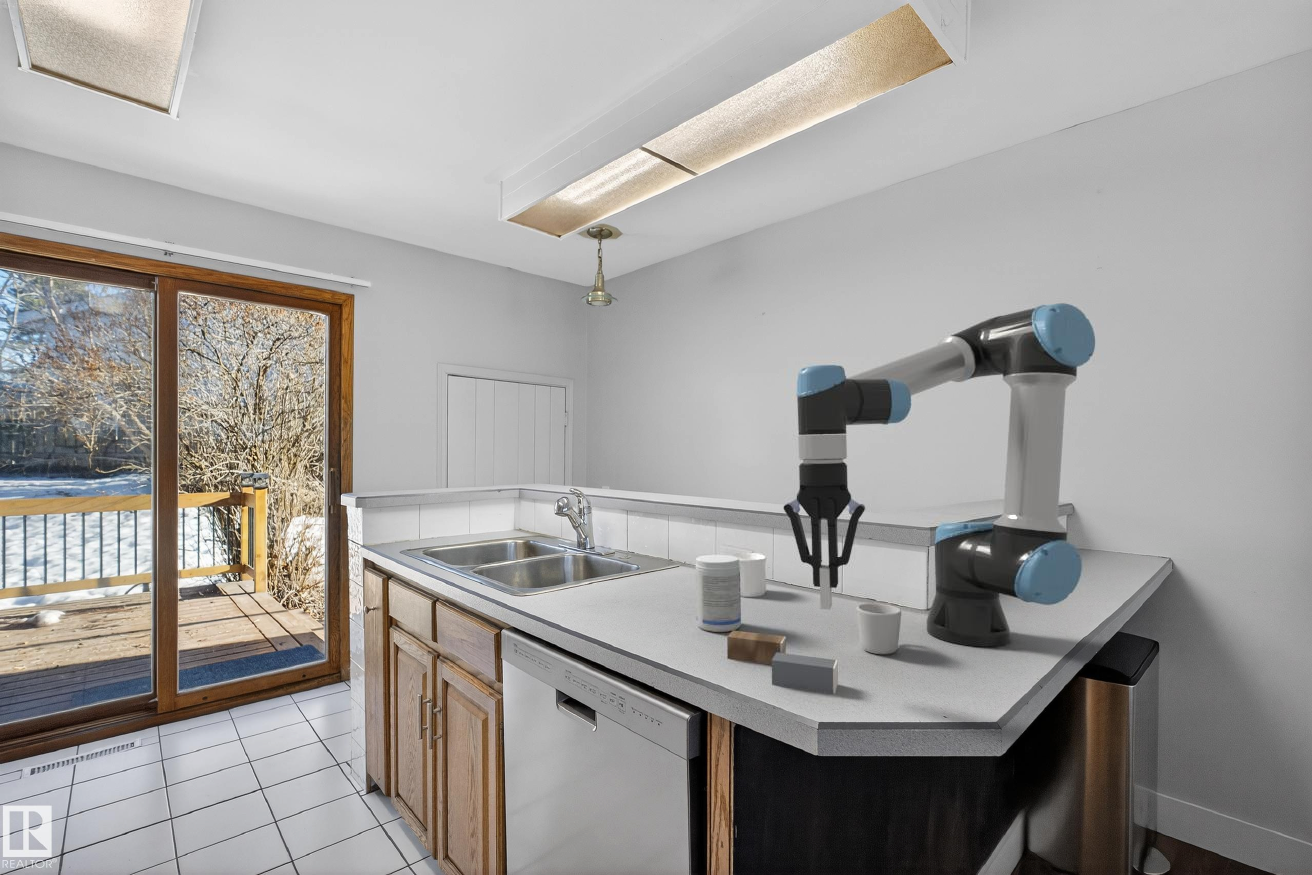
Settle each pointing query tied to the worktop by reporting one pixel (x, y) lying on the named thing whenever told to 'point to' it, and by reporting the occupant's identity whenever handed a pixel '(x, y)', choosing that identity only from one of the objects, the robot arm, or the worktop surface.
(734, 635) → the walnut block
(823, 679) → the charcoal block
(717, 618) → the supplement tub
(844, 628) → the worktop surface
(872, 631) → the cup
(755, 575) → the cup
